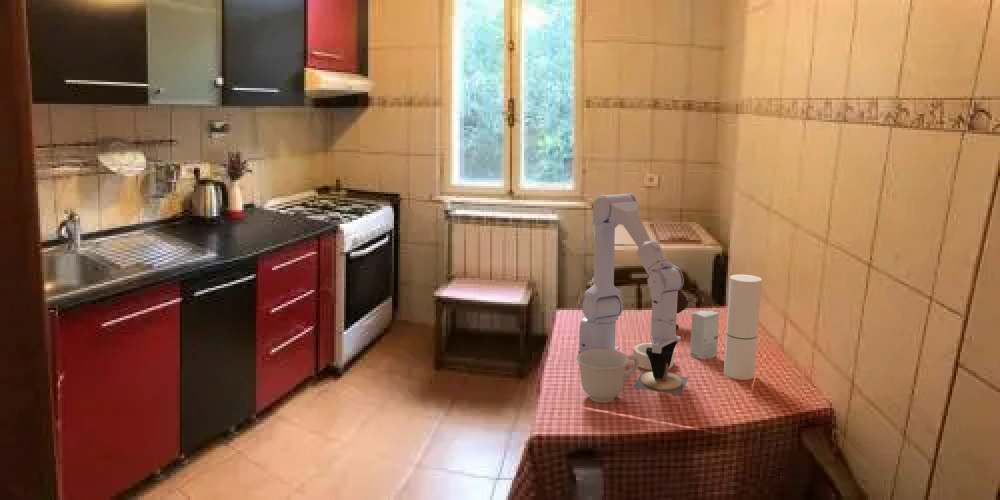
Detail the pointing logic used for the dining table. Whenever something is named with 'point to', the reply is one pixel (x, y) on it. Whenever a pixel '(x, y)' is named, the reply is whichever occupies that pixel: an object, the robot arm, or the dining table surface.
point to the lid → (661, 381)
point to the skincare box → (704, 334)
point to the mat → (675, 391)
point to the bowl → (645, 356)
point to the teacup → (604, 372)
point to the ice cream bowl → (681, 302)
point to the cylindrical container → (742, 326)
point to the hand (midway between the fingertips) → (661, 372)
